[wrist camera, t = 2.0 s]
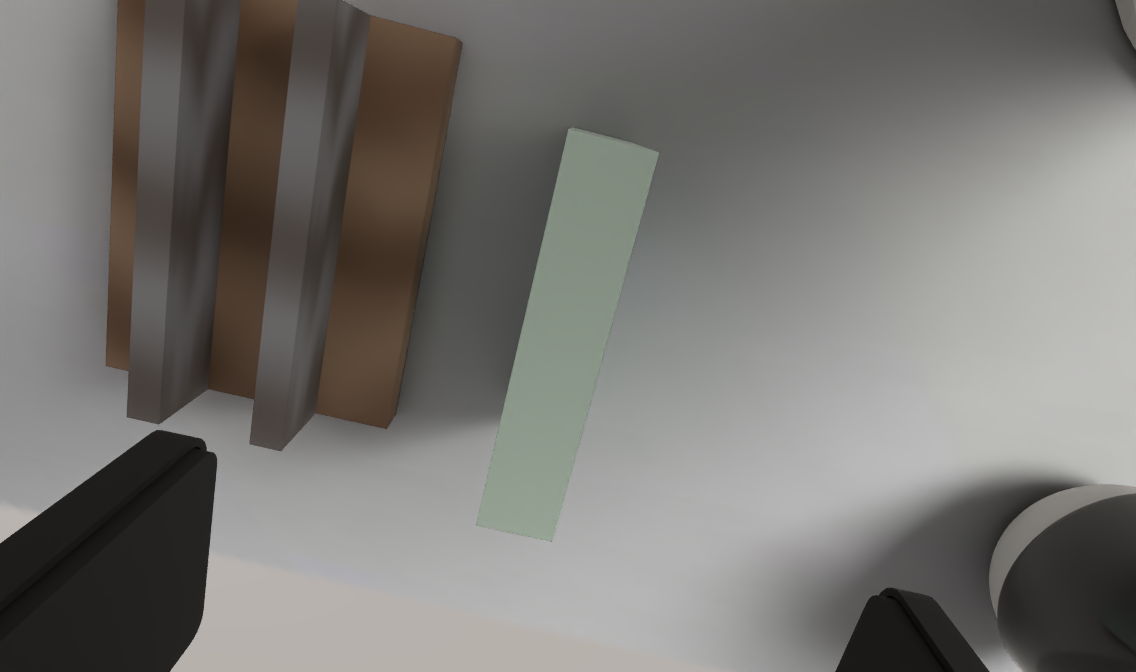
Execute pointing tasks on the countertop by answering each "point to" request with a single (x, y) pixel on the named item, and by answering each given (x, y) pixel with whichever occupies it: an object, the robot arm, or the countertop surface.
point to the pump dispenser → (1069, 582)
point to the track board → (271, 205)
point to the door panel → (565, 329)
